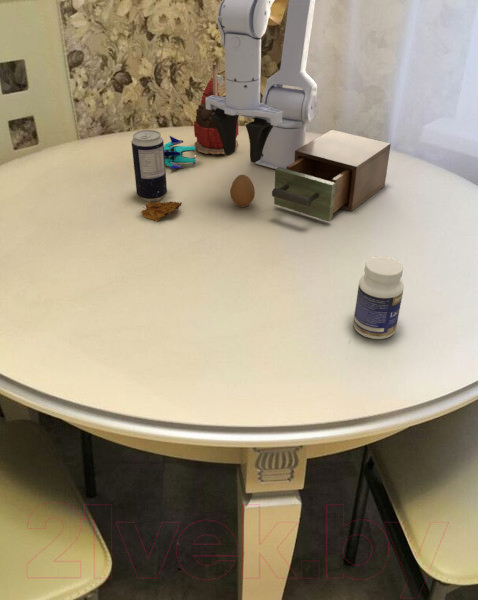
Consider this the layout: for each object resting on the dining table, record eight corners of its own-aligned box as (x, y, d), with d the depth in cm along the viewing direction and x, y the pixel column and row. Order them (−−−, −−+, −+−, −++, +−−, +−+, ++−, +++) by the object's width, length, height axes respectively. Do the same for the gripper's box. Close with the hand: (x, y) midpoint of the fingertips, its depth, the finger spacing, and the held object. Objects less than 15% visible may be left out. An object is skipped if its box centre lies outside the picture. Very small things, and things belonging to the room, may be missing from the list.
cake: (217, 161, 130) (215, 73, 120) (184, 151, 135) (179, 66, 125) (248, 146, 137) (248, 62, 127) (216, 137, 142) (214, 55, 132)
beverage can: (172, 192, 118) (168, 131, 111) (159, 204, 114) (154, 142, 107) (145, 188, 119) (139, 127, 113) (131, 200, 115) (125, 138, 108)
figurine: (197, 139, 129) (140, 140, 130) (193, 135, 123) (134, 135, 124) (197, 171, 129) (141, 172, 130) (193, 168, 124) (134, 169, 124)
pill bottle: (395, 343, 81) (407, 279, 75) (351, 338, 81) (360, 274, 76) (395, 317, 85) (407, 255, 79) (354, 312, 86) (362, 251, 80)
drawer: (316, 231, 103) (319, 194, 100) (260, 212, 109) (261, 176, 105) (362, 196, 114) (366, 161, 111) (309, 181, 120) (312, 147, 116)
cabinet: (351, 211, 111) (356, 166, 106) (292, 193, 117) (294, 150, 112) (384, 186, 120) (391, 143, 115) (328, 170, 126) (331, 129, 121)
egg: (225, 206, 113) (225, 176, 110) (240, 198, 116) (240, 168, 112) (244, 213, 111) (245, 182, 107) (259, 204, 114) (260, 174, 110)
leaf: (158, 202, 115) (155, 194, 114) (188, 206, 112) (186, 198, 111) (137, 219, 111) (135, 211, 110) (168, 224, 107) (166, 216, 106)
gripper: (192, 75, 101) (196, 154, 109) (265, 91, 94) (263, 174, 102) (219, 66, 106) (220, 142, 113) (290, 80, 99) (287, 161, 106)
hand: (242, 156), depth 108 cm, fingers open, 5 cm apart
